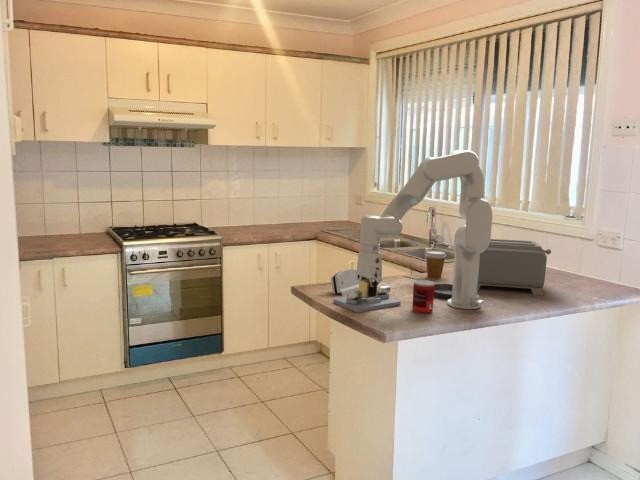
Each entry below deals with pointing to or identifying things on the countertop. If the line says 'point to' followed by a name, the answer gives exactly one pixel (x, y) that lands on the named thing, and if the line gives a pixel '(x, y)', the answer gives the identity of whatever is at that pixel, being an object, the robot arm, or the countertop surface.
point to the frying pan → (441, 290)
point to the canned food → (423, 296)
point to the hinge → (345, 282)
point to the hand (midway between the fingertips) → (367, 294)
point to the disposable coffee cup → (435, 263)
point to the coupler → (365, 288)
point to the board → (367, 303)
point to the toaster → (513, 265)
